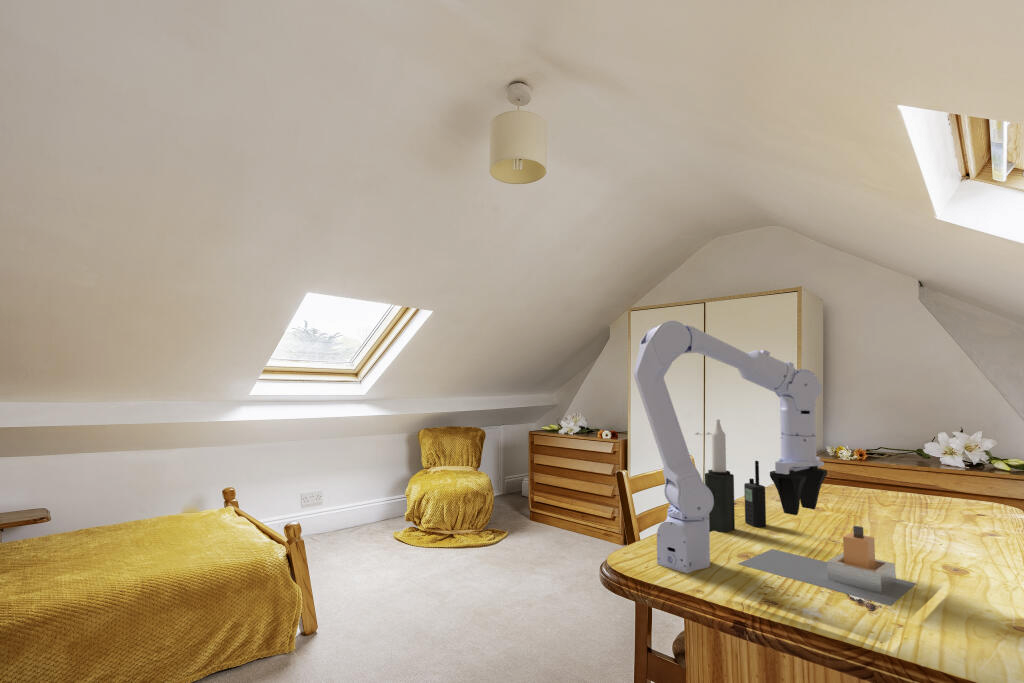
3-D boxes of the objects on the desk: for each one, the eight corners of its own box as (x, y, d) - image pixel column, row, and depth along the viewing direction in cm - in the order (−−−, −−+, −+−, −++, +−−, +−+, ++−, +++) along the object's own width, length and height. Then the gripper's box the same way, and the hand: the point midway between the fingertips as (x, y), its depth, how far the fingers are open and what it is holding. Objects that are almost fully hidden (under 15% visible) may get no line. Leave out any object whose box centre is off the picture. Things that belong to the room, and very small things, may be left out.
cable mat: (890, 611, 77) (890, 605, 77) (737, 568, 95) (737, 563, 95) (916, 588, 86) (916, 583, 86) (772, 553, 104) (772, 548, 104)
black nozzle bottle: (725, 536, 115) (722, 420, 117) (703, 531, 119) (701, 418, 121) (736, 532, 118) (734, 419, 120) (715, 527, 122) (713, 418, 124)
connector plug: (869, 586, 85) (867, 531, 86) (844, 580, 87) (842, 526, 88) (876, 581, 87) (873, 527, 88) (851, 575, 90) (849, 523, 90)
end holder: (881, 593, 82) (880, 573, 82) (827, 579, 88) (827, 560, 88) (895, 582, 87) (895, 563, 87) (844, 569, 92) (843, 552, 93)
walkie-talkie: (743, 522, 127) (742, 458, 129) (757, 522, 128) (755, 458, 129) (755, 527, 123) (753, 461, 124) (769, 527, 123) (767, 461, 124)
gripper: (804, 438, 89) (806, 521, 88) (837, 434, 99) (839, 509, 97) (762, 435, 95) (764, 513, 94) (797, 431, 104) (799, 502, 103)
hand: (799, 511), depth 96 cm, fingers open, 7 cm apart
